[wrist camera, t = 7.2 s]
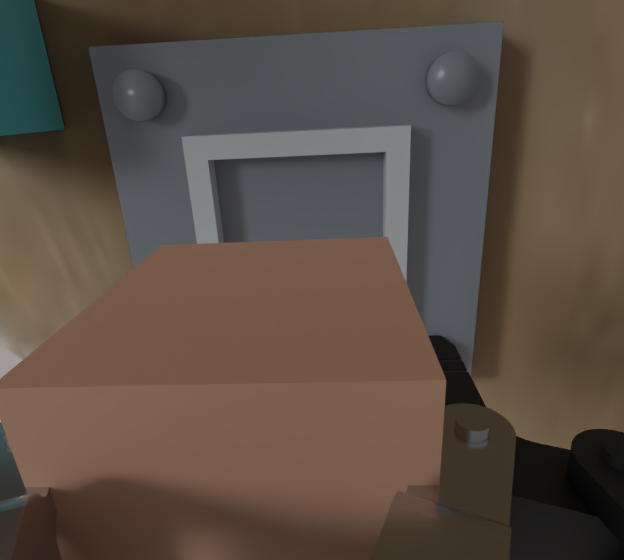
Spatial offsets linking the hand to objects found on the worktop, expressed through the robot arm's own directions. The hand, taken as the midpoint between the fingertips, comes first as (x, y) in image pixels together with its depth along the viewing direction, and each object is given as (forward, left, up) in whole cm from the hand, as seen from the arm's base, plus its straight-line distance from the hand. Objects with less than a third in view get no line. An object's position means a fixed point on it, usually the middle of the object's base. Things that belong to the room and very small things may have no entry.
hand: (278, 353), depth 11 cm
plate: (0, 0, -12) cm, 12 cm away
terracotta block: (0, 0, -1) cm, 1 cm away
